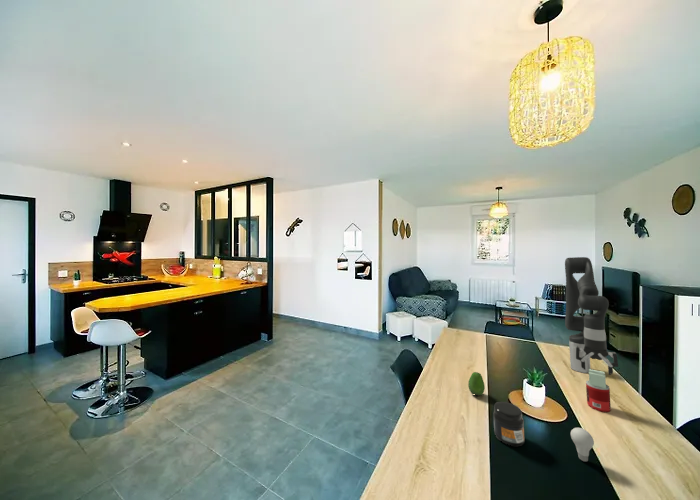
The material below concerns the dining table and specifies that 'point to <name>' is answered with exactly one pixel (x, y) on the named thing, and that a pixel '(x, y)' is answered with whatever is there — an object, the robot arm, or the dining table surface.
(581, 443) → the lightbulb
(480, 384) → the avocado
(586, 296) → the robot arm
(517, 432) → the supplement container
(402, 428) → the dining table surface
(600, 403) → the canned food
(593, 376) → the sage block
